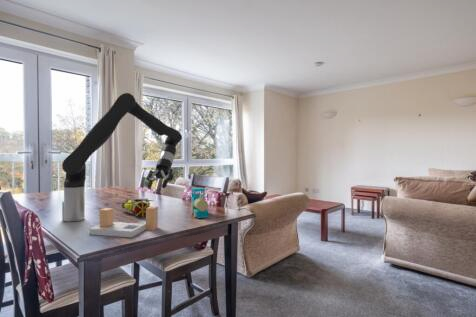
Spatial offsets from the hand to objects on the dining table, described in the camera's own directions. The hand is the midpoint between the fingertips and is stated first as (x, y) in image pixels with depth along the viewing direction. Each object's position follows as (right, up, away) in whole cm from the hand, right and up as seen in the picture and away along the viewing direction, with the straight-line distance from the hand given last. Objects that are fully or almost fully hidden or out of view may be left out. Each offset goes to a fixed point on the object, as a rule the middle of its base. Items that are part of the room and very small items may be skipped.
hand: (156, 187), depth 138 cm
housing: (-13, -18, -15) cm, 27 cm away
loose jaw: (+1, -18, -9) cm, 20 cm away
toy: (-17, -17, +23) cm, 33 cm away
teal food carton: (+19, -18, +19) cm, 32 cm away
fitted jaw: (-18, -18, -14) cm, 29 cm away
